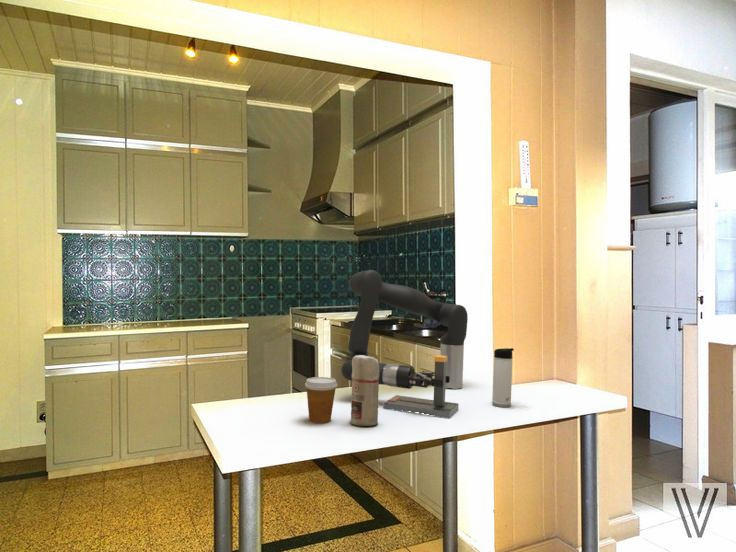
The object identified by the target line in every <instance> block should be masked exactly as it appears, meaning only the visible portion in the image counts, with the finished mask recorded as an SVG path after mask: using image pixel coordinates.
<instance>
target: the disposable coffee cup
mask: <svg viewBox="0 0 736 552" xmlns="http://www.w3.org/2000/svg"><path fill="white" fill-rule="evenodd" d="M304 386H305V389H306V397H307V398H306V399H307V409H308V418H309V419H308V422H310V423H314V424H326V423H327V424H328V423H330V422H331V420H332V419H331V418H332V413H333V408H334V407H333V406H334V400H335V394H336V388H337V387H338V383H337V380H336V379H335V378H333V377H328V376H327V377H326V376H325V377H324V376H314V377H309V378H307V379H306V382H305V383H304Z"/></svg>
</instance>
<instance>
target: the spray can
mask: <svg viewBox="0 0 736 552" xmlns="http://www.w3.org/2000/svg"><path fill="white" fill-rule="evenodd" d="M379 385H380V384H379V361H378V359H376V358H375V357H373V356H365V355H358V356H357V355H356V356H354V357H353V358H352V381H351V404H350V407H351V410H350V421H349V423H350V424H351V425H355V426H359V427H370V426H371V427H372V426H374V425H375V426H376V425H378V424H379V422H378V418H379Z"/></svg>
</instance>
